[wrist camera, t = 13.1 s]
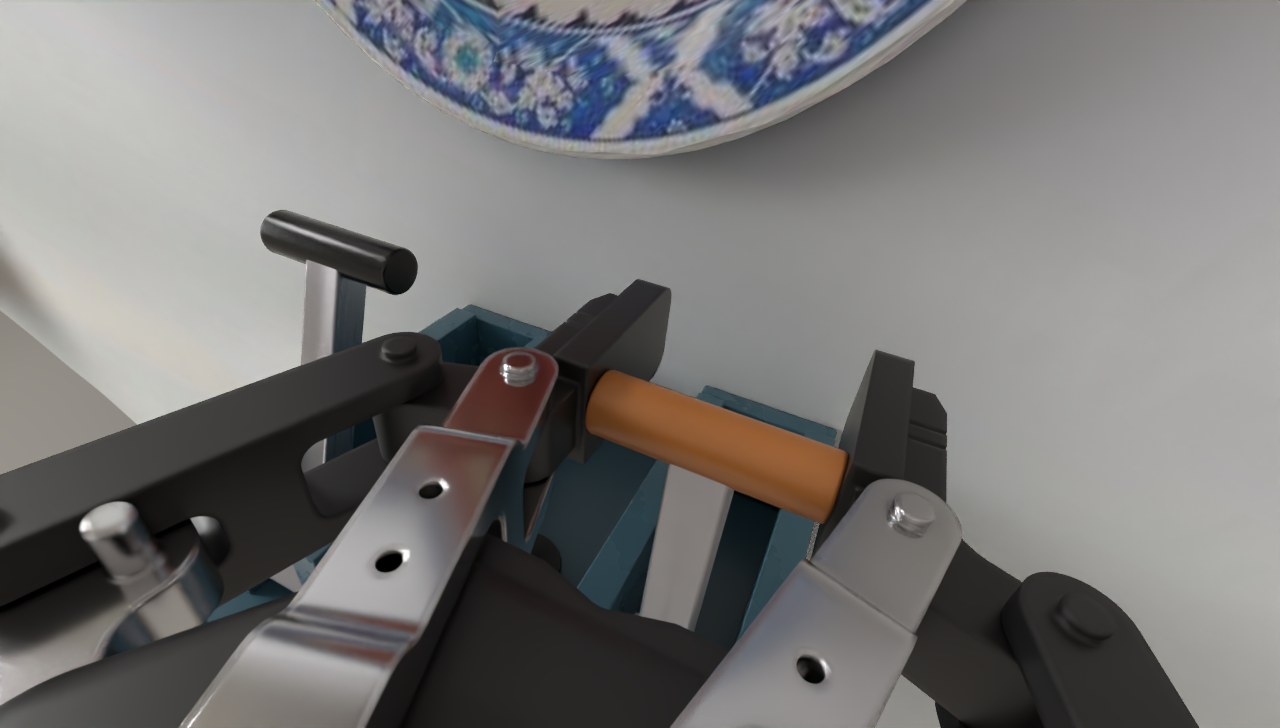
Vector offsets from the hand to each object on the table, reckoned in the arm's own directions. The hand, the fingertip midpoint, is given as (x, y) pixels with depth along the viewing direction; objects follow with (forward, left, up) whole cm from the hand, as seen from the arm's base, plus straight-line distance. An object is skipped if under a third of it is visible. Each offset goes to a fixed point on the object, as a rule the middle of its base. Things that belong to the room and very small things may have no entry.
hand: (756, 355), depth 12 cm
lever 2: (+5, 0, +2) cm, 5 cm away
